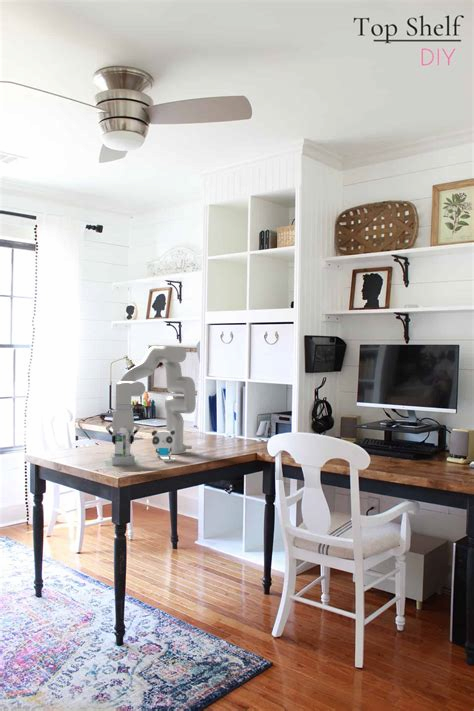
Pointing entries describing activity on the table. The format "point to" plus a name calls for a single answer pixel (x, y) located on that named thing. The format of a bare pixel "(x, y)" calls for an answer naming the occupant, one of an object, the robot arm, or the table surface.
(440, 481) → the table surface
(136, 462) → the deck plate
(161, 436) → the panda figurine
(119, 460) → the chute collar
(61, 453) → the table surface
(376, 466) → the table surface
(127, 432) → the syrup box
